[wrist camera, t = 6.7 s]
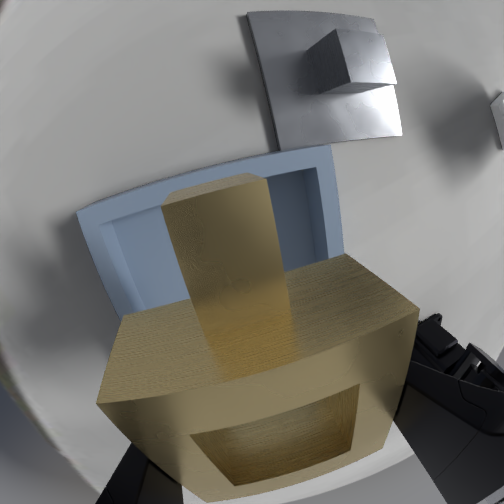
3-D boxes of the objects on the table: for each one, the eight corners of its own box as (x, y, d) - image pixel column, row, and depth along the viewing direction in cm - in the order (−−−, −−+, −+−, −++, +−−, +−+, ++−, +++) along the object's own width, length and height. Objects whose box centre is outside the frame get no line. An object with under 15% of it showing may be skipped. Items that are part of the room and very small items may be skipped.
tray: (332, 325, 20) (347, 344, 18) (166, 372, 18) (165, 397, 16) (310, 145, 15) (330, 144, 13) (92, 202, 14) (75, 211, 11)
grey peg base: (398, 135, 16) (439, 136, 12) (278, 150, 15) (306, 150, 11) (370, 20, 12) (404, 2, 9) (246, 14, 11) (261, -19, 8)
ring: (347, 392, 11) (382, 448, 8) (198, 436, 10) (206, 502, 7) (333, 155, 7) (424, 164, 4) (85, 220, 6) (16, 272, 3)
